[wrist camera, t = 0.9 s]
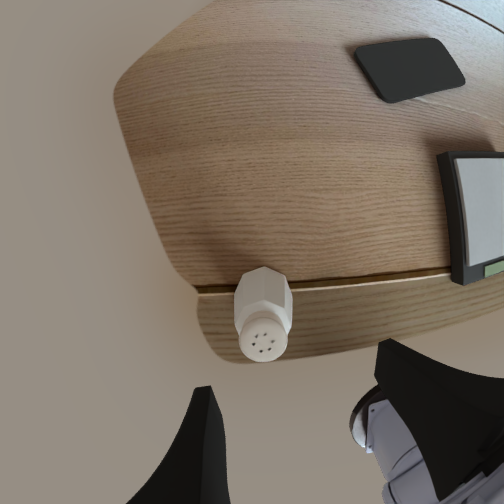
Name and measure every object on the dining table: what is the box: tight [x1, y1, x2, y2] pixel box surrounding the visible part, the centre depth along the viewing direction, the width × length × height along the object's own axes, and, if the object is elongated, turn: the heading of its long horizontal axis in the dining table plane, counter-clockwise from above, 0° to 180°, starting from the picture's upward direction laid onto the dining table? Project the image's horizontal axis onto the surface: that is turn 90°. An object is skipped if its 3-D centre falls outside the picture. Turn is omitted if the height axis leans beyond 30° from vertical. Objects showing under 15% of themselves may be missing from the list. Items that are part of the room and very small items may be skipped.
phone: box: [354, 38, 465, 103], centre depth 22 cm, size 7×1×15 cm
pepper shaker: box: [234, 266, 292, 362], centre depth 21 cm, size 5×5×11 cm
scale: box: [436, 151, 504, 286], centre depth 23 cm, size 14×12×3 cm
